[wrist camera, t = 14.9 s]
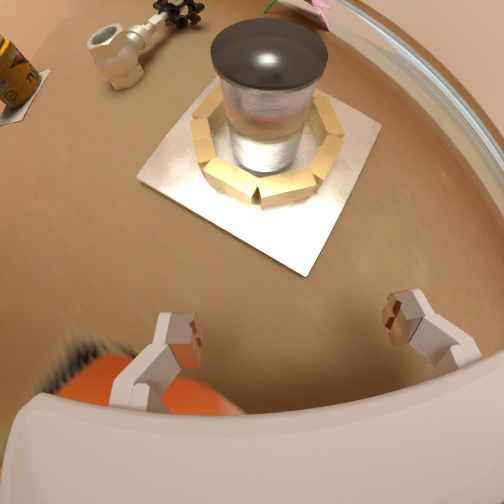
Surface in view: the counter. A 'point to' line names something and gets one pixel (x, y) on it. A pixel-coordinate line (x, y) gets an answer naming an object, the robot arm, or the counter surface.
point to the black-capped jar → (267, 87)
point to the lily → (315, 1)
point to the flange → (264, 177)
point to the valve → (135, 41)
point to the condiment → (17, 82)
